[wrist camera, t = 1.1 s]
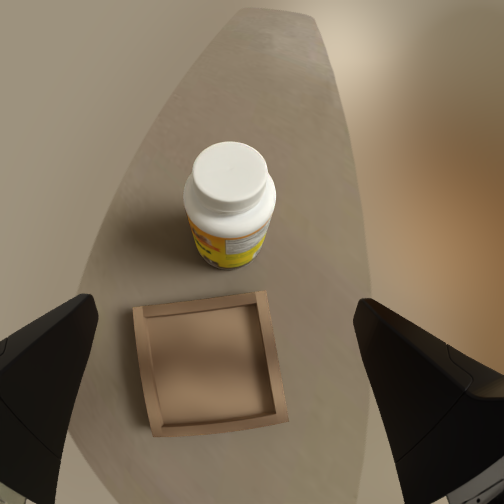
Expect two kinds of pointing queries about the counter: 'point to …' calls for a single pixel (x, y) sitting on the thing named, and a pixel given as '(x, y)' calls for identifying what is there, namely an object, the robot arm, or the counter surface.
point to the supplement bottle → (229, 204)
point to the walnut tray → (209, 365)
